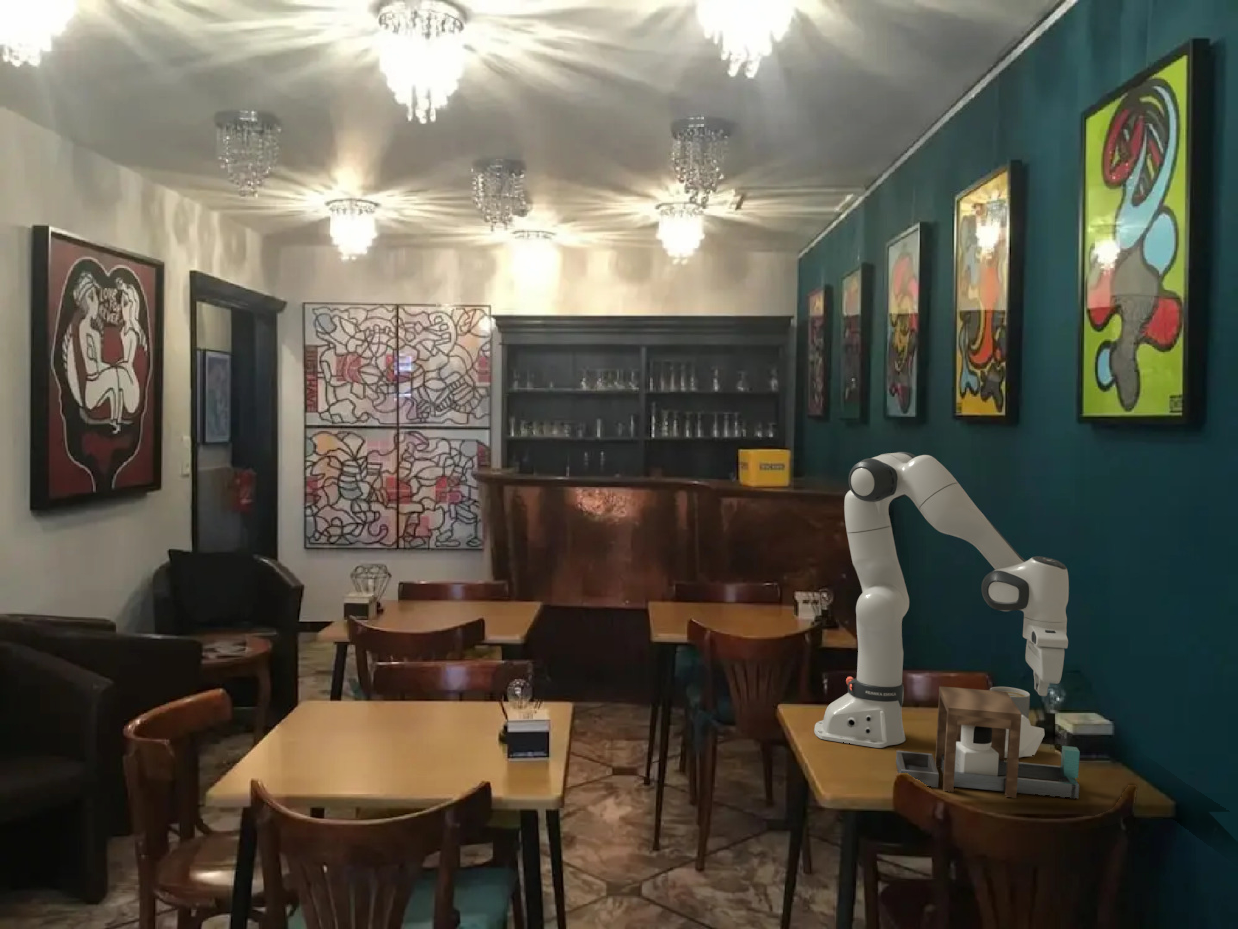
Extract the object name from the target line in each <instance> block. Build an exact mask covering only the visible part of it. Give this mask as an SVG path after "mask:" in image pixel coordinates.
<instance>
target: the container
mask: <svg viewBox="0 0 1238 929" xmlns="http://www.w3.org/2000/svg"><path fill="white" fill-rule="evenodd" d="M991 743H992V728H991V727H980V726H969V725H962V727H961V742H956V755H955V772H965V773H975V774H985V775H996V776H999V775H998V760H999V753H998V752H996V751H995V750H994V749H993V748H992V747H991Z"/></svg>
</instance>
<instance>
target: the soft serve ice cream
mask: <svg viewBox="0 0 1238 929" xmlns="http://www.w3.org/2000/svg"><path fill="white" fill-rule="evenodd" d="M1008 735H1009V729H1006V739H1005V756H1004V759H1007V751H1008ZM1044 737H1045V728H1043V727H1039V726H1034V725H1031V721H1030V718H1029V719H1027V718H1026V717H1025V716H1023V715H1021V730H1020V746H1019V758H1023V757H1033V756H1032V755H1034V756H1035V755H1036V753H1037V751H1038V749H1039V747H1040V745H1041V743H1042V741H1043V738H1044Z"/></svg>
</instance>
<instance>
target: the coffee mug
mask: <svg viewBox="0 0 1238 929" xmlns="http://www.w3.org/2000/svg"><path fill="white" fill-rule="evenodd" d="M989 690H990V691H1002V692H1007V693H1008V695H1009V696H1010V698H1011V699H1012V701H1013V702H1014V704H1015V705H1016V707H1017V708H1018V710H1019V711H1020V713H1021V715H1023V716H1025V717H1026V718H1027V719H1029V720H1030V703H1031V702H1030V701H1031V700H1030V699H1031V694H1030V693H1029V692H1028V691H1026V690H1024V689H1021V688H1016V687H1009V686H993V687H990V689H989Z"/></svg>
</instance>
